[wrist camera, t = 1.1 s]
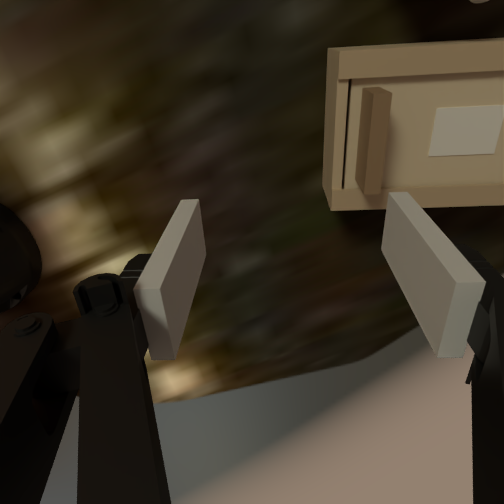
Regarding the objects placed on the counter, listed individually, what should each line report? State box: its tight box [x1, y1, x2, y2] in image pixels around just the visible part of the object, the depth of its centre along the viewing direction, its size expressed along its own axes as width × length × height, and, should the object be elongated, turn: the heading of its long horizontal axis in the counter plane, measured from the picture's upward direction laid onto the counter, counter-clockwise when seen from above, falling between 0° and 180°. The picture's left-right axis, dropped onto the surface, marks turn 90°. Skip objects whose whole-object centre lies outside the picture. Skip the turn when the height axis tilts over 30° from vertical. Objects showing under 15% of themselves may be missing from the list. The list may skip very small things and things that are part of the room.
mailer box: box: [322, 38, 504, 211], centre depth 31 cm, size 16×12×6 cm
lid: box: [343, 70, 504, 195], centre depth 28 cm, size 14×10×4 cm
